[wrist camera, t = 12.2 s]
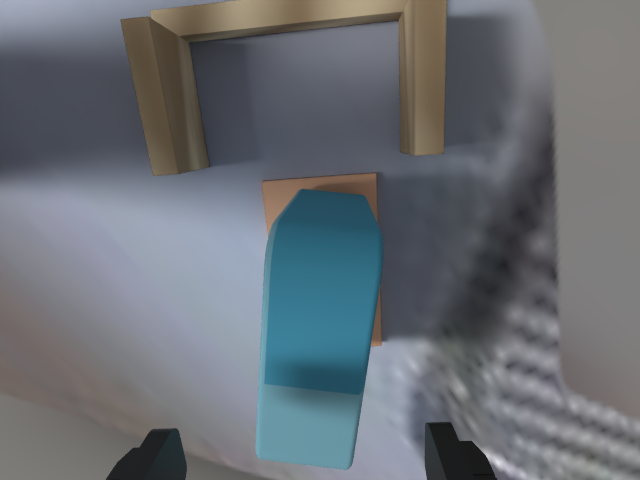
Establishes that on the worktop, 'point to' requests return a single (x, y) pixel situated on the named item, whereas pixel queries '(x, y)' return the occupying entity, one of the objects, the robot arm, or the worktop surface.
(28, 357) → the worktop surface
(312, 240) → the blue flat block
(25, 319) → the worktop surface
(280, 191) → the terracotta pad
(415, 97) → the oak rack
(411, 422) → the worktop surface
